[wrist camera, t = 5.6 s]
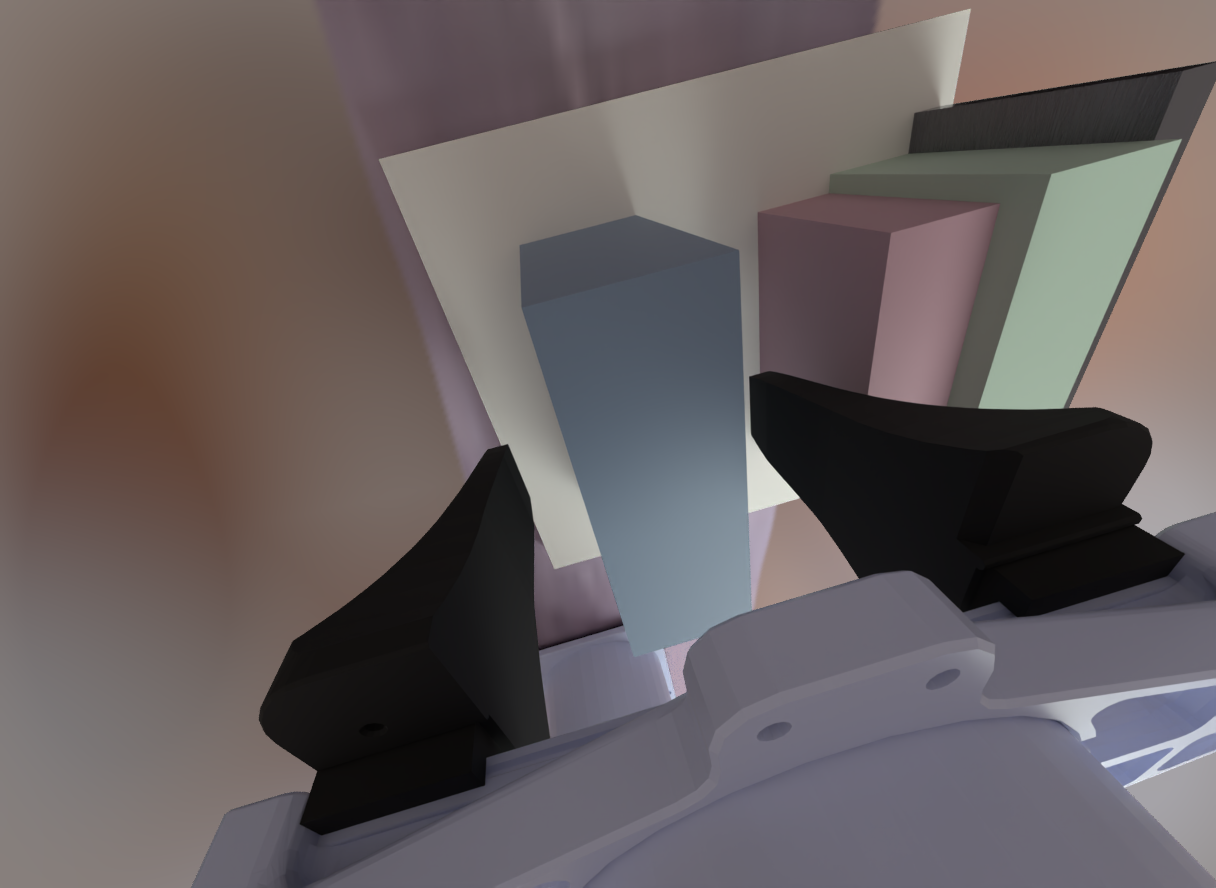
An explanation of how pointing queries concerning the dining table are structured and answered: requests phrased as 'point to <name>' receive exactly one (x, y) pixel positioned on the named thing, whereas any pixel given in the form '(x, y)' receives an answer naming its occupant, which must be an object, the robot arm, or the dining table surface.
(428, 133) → the dining table surface
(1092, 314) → the books
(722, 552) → the slate book
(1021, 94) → the bookend
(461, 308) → the shelf board
